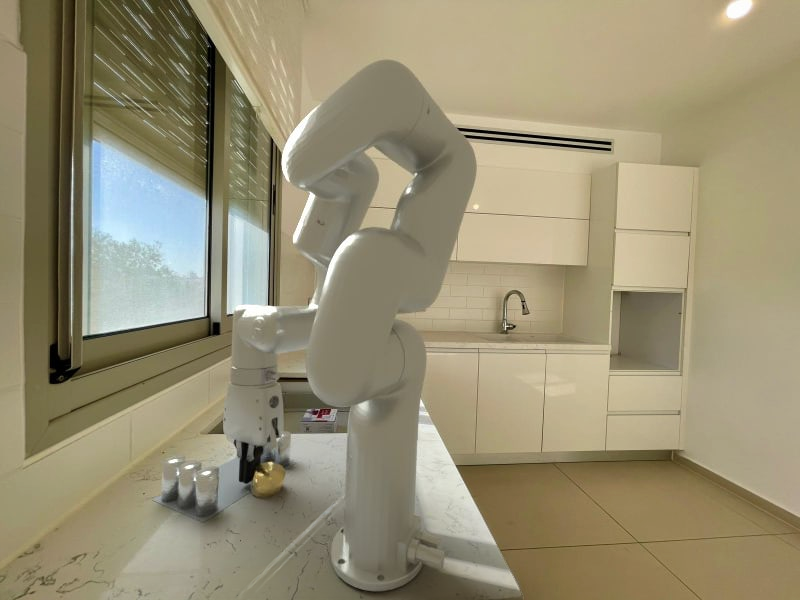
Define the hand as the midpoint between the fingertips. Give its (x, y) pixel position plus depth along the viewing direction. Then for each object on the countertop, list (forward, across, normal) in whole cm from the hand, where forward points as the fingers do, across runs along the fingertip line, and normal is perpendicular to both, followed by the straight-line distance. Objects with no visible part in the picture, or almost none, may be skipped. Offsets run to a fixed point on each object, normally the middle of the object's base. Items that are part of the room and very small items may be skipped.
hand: (249, 478), depth 58 cm
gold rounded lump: (+1, -4, 0) cm, 4 cm away
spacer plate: (+2, +4, 0) cm, 4 cm away
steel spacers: (+2, +4, 0) cm, 4 cm away
